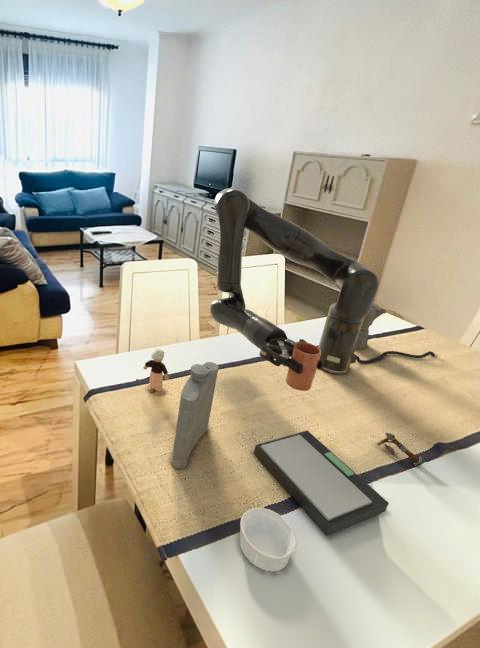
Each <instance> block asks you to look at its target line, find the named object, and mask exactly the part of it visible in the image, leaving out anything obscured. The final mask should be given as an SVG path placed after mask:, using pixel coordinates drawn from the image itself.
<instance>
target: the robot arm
mask: <svg viewBox="0 0 480 648" xmlns="http://www.w3.org/2000/svg"><path fill="white" fill-rule="evenodd" d="M213 207H214V211H215V213H216V215H217V217H218V224H219V233H220V237H219V239H220V240H219V249H218V256H217V265H216V288H217V290H218V291H220V292H222V293H227V294H228V297H222V298H217V299H215V300H213V301H212V302H211V303H210V305H209V313H210V316H211V317H212V319H213V320H214V321H215V322H216V323H218V324H219V325H221V326H225V327H227V328H229V329H233V330H235V331H237V332H238V333H240V334H241V335H242V336H243V337H245V338H246V340H247V341H249V342H250V343H251V344H253V346H255V347H257V349H259V354H258V355H259V356H260V357H261V358H263V359H264V360H265V361H268V362H269V363H271V364H273V366H276V367H280V366H283V367H285V368H290V369H291V370H292V371H294V372H296V373H297V374H302V371H303V366H302V365H301V364H299V363H298V362H296V361H295V360H294V359H292V358H291V356H292V352H293V348H294V344H296V343H298V342H306V343H308V341H306V340H305V339H303V338H300V339H299V341H294V340H293V339H290V338H288V336H287V334H286V332H285V330H283V329H282V328H281V327H279V326H277V325H275V323H272V322H271V321H269V320H268V319H266V318H264V317H262V316H260V315H259V314H257V313H255V312H254V311H252V310H250V309H247V308H246V303H245V298H244V293H243V289H242V267H243V266H242V264H243V263H242V262H243V241H244V234H245V230H247V231H249V232H250V233H251V234H253V235H254V236H255V237H256V238H258V239H259V240H260V241H261V242H263V243H264V244H265V245H266V246H268V247H269V248H270V249H272V250H273V251H275V252H277V254H280V255H281V256H283V257H284V258H286V259H287V260H289V261H292V262H294V263H295V264H298V265H299V266H303V267H306V268H309V269H312V270H314V271H316V272H318V273H320V274H321V275H323V276H324V277H326V278H327V279H328V280H330V281H331V282H332V283H333V284H335V286H336V287H337V288H338V289H339V290H340V291H339V295H338V297H337V298H338V300H337V302H336V303H335V302H333V303H331V304H330V305H329V309H328V312H327V314H326V319H325V322H324V326H323V329H322V333H321V336H320V339H319V343H318V346H317V347H318V348H319V349H320V350H321V356H320V359H319V363H318V366H317V370H319V371H321V370H323V371H324V372H327V373H330V374H335V375H342V374H345V373H347V372H348V369H350V367H351V364H355V363H356V362H358V363H360V364H371V363H374V362H377V361H380V360H382V359H384V357H385V356H387V355H397V356H403V357H407V358H411V359H424V358H426V357H428V356H429V355H430V356H432V357H435V353H434V352H433V351H431V350H430V351H427V352H425V353H423V354H411V353H406V352H401V351H397V350H396V351H395V350H387V351H384V352H382V353H381V354H380V355H379V356H376V357H373V358H370V359H365V360H363V359H361V358H360V356H359V355H357V354H355V351H356V350H357V349H356V346H357V338H358V335H359V332H360V329H361V326H362V323H363V320H364V317H365V316H366V315H367V314H368V313H369V311H370V309H371V306H372V304H373V303H374V301H375V298H376V296H377V292H378V290H379V285H380V280H379V276H378V275H377V274H376V273H375V272H374V271H373V270H371V269H370V268H369V267H368V266H366V265H365V264H363V263H361V262H358V261H356V260H354V259H352V258H350V257H347V256H345V255H343V254H341V253H339V252H337V251H335V250H333V249H332V248H330V247H329V246H328V245H327V244H326V243H325V242H323V240H321V239H320V238H319V237H317V236H316V235H315V234H313V233H311V232H310V231H308V230H307V229H305V228H304V227H301V226H300V225H299V224H297V223H294V222H292V221H290V220H288V219H287V218H284V217H283V216H281V215H277V214H275V213H273V212H270V211H269V210H266V209H265V208H263V207H262V206H260V205H259V204H257V203H256V202H254V201H253V200H252V199H250V197H248V195H247V194H246V193H245V192H244V191H242V190H240V189H238V188H235V187H229V188H225V189H223V190H221V191H219V192H218V193H217V194H216V196H215V198H214V201H213ZM274 358H275V359H274Z"/></svg>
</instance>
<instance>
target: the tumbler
mask: <svg viewBox="0 0 480 648" xmlns="http://www.w3.org/2000/svg"><path fill="white" fill-rule="evenodd" d="M297 342H298V343H296V344H294V348H293V352H292V356H291V357H290V358H292V359H294V360H295V361H296V362H298V363H299V364H301V365H302V366H303V371H302V374H297V373H296V372H294V371H292V370H291V369H290V368H288V367H287V368H288V369H287V372H286V376H285V383H286V384H287V386H289V387H290V388H292V389H294V390H297V391H300V392H301V391H302V392H307V391H310V390H312V387H313V383H314V380H315V377H316V372H317V370H318V369H317V366H318V363H319V359H320V356H321V350H320V349H319V348H318V346H317V345H315V344H312V343H309V342H307V341H306V342H307V343H306V342H299V341H297Z"/></svg>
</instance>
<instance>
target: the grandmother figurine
mask: <svg viewBox="0 0 480 648" xmlns="http://www.w3.org/2000/svg"><path fill="white" fill-rule="evenodd" d="M150 356H151V359H150V360H148V361H146V362H144V366H143V370H146V371H147V370H148V368H151V369H150V373H149V385H148V386H149V387H148V392H150V393H153V392H154V393H155V395H157V396H161V395H163V394H165V392H166V391H165V389H164V388H163V380H164V379H165V381H169V380H170V377H169V372H168V369H167V367H166V364H164V363H163V360H164V357H165V352H164V350H163V349H161V348H156V349H155V350H153V352H152V353H151V355H150Z"/></svg>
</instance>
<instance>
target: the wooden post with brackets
mask: <svg viewBox="0 0 480 648" xmlns="http://www.w3.org/2000/svg"><path fill="white" fill-rule="evenodd" d="M384 434H385V435H386V437H385V438H383V439H381V440H379V441H378V442H377V443H376V445H377V446H384V447H385V450H386V451H388V452H389V453H390V454H393V455H394V454H395V453H396V452H395V448H392V446H391V445H390V444H394V445H395V446H396V448H398V450H400V452H402V453H404V454H405V455H406V456H407V457H408V458H409V459H410V460H411V461H412V462H413V465H414V467H416V466H418V465H419V464H421V463H422V461H423V457H422V456H418V455H416V454H415V453H413V452H411V451H410V450H409V449H408V448H407V447H406V446H405V445H404V444H403V443H402V442H400V441H399V440H398V439H397V438H396V435H395V434H392V433H391V432H388V431H386V432H385V433H384ZM387 443H388V444H389V443H390V444H389V445H388V444H387Z"/></svg>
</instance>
